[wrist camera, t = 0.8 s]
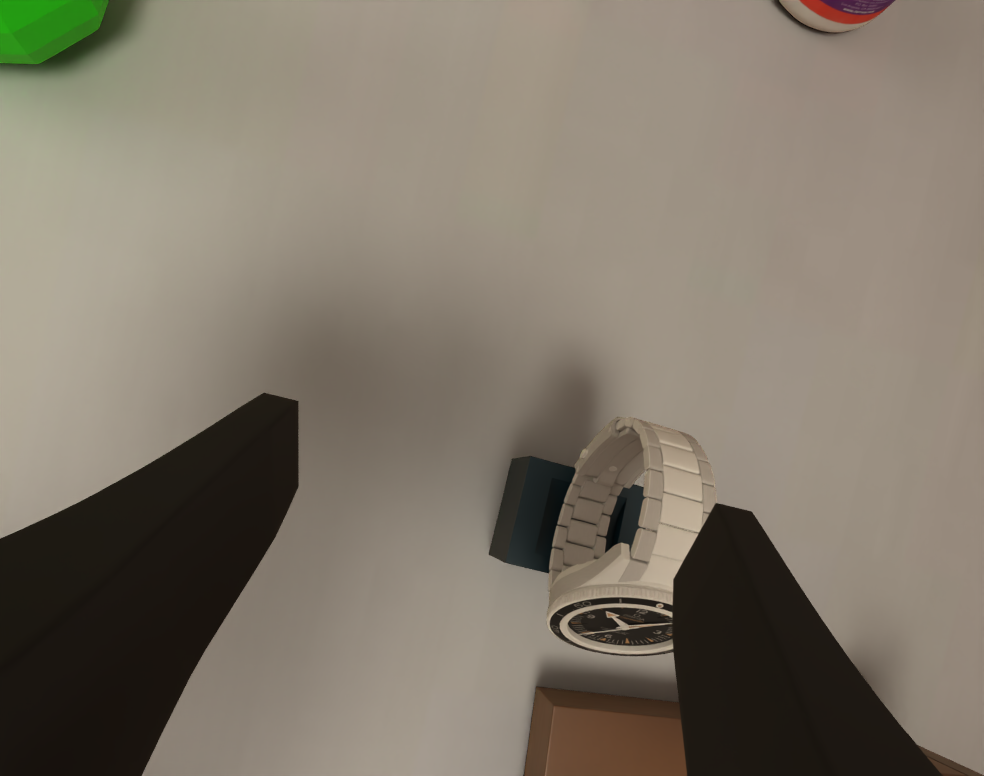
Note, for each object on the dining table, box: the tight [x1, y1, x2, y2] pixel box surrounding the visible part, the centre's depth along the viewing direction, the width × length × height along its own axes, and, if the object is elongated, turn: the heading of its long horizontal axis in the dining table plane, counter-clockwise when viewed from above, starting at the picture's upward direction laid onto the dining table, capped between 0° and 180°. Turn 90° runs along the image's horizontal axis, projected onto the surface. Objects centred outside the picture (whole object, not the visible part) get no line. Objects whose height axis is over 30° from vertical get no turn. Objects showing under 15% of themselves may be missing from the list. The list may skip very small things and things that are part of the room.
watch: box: [489, 417, 717, 656], centre depth 24 cm, size 6×8×11 cm
